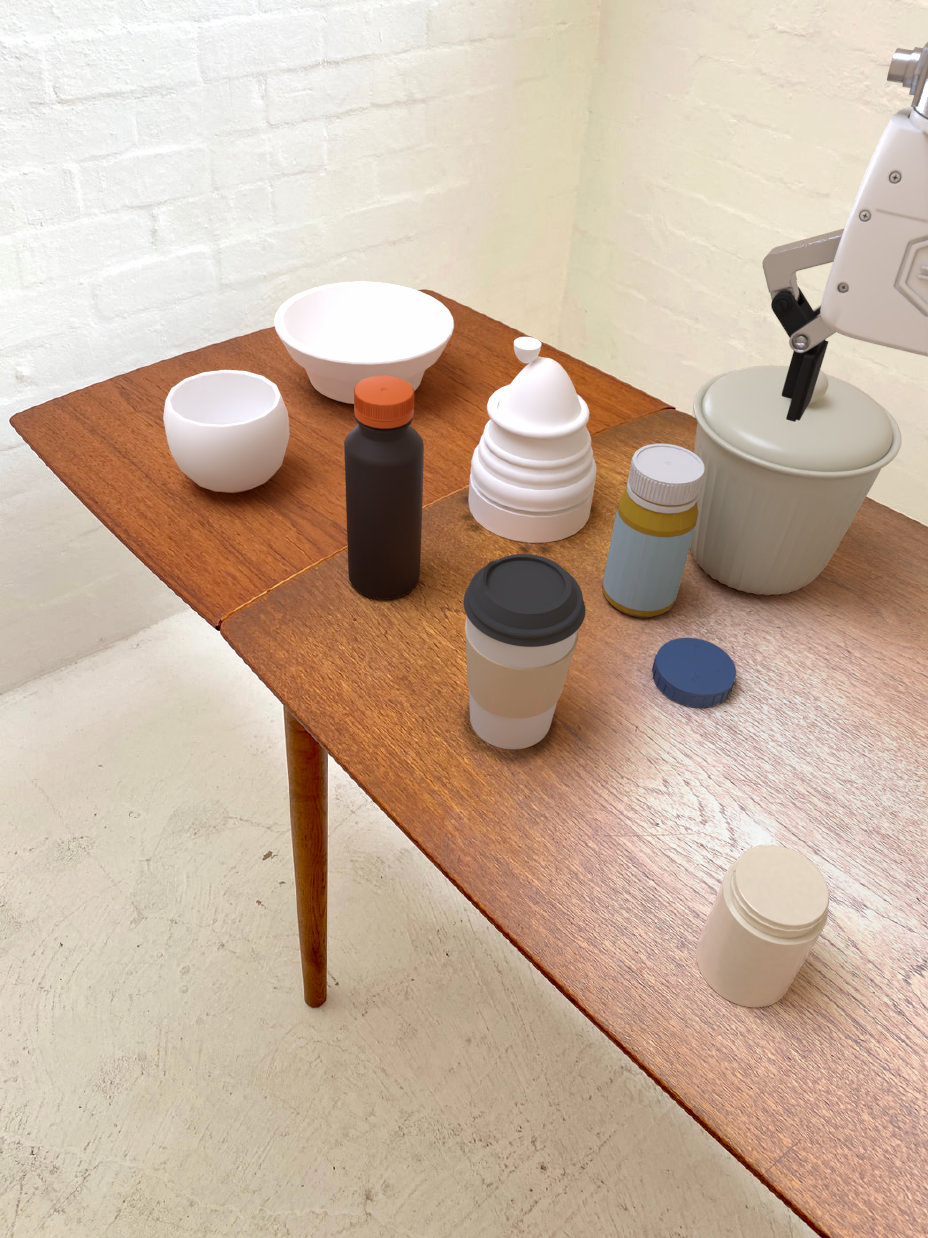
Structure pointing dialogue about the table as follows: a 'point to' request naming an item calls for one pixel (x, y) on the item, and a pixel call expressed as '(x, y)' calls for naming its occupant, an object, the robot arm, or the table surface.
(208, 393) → the cup
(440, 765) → the table surface
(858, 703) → the table surface
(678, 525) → the bottle
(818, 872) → the jar
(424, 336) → the bowl
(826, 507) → the canister
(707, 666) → the lid
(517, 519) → the honey pot
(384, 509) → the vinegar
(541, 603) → the coffee cup
